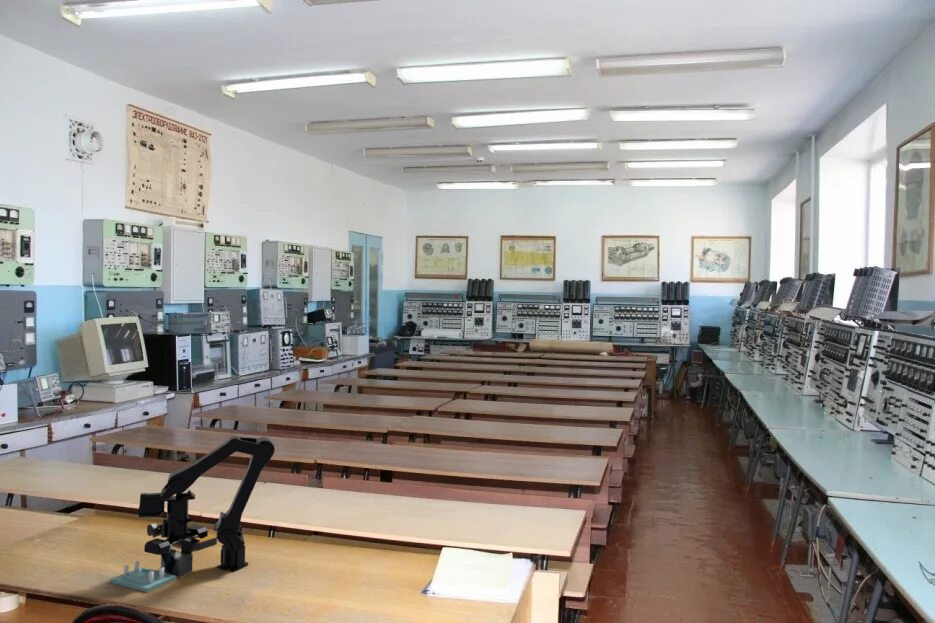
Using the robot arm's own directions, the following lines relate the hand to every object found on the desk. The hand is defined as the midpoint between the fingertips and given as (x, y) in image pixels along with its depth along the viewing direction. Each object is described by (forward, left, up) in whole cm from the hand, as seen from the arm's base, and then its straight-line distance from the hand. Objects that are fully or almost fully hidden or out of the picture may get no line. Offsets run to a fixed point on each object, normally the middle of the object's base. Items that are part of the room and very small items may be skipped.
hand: (176, 568), depth 210 cm
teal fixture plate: (+3, +9, -1) cm, 10 cm away
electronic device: (+15, -21, -2) cm, 26 cm away
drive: (0, 0, -1) cm, 1 cm away
